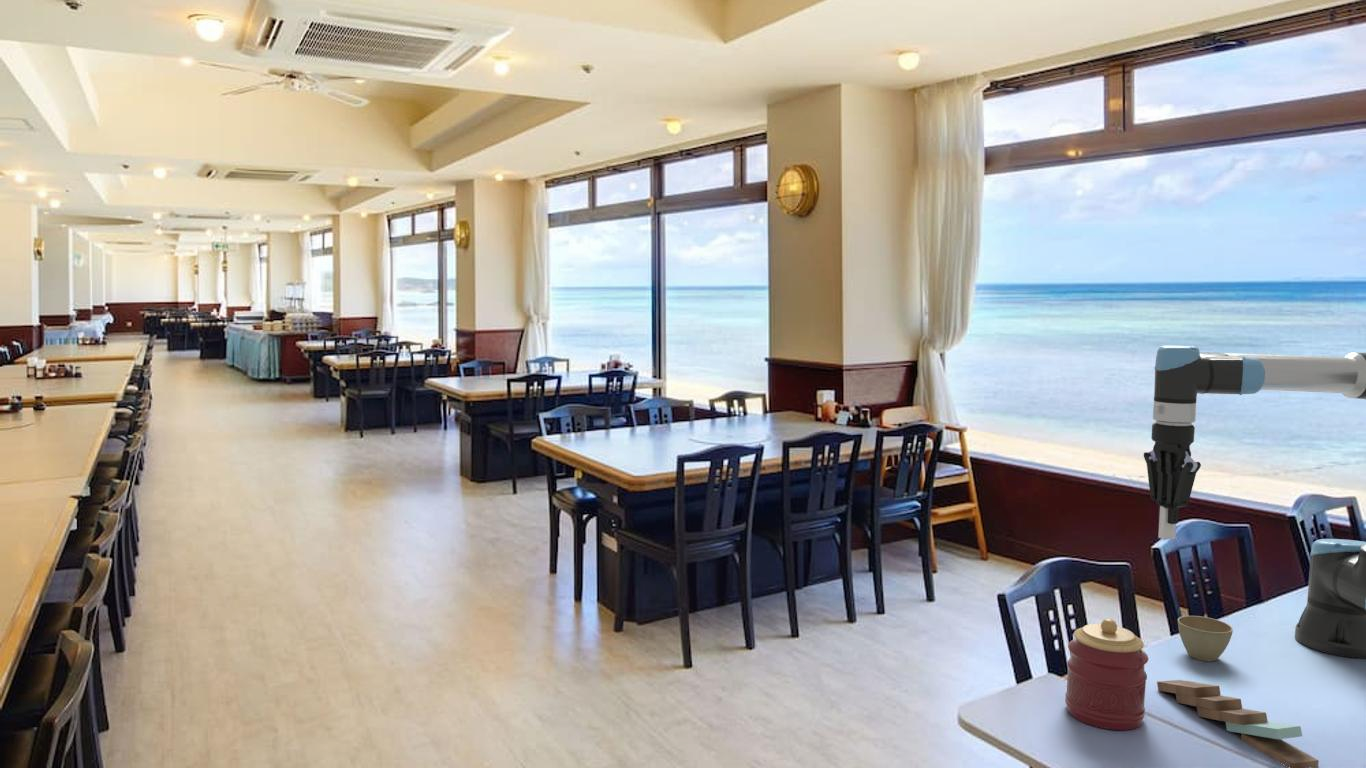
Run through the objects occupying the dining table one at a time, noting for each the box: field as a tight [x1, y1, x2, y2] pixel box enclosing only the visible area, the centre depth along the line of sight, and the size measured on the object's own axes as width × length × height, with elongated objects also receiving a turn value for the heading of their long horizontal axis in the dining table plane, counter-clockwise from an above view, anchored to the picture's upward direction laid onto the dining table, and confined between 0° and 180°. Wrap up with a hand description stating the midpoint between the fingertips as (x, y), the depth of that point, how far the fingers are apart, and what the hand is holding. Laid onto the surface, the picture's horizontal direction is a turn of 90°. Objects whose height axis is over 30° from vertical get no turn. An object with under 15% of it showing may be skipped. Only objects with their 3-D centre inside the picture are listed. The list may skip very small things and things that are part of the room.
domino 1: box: [1156, 679, 1221, 697], centre depth 168 cm, size 5×2×10 cm
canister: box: [1064, 618, 1149, 731], centre depth 162 cm, size 13×13×18 cm
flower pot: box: [1177, 615, 1234, 662], centre depth 189 cm, size 10×10×7 cm
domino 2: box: [1175, 693, 1243, 711], centre depth 163 cm, size 5×2×10 cm
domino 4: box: [1225, 720, 1303, 740], centre depth 153 cm, size 5×2×10 cm
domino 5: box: [1240, 733, 1319, 768], centre depth 149 cm, size 5×2×10 cm
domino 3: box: [1196, 706, 1268, 725], centre depth 158 cm, size 5×2×10 cm
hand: (1166, 537), depth 184 cm, fingers closed
